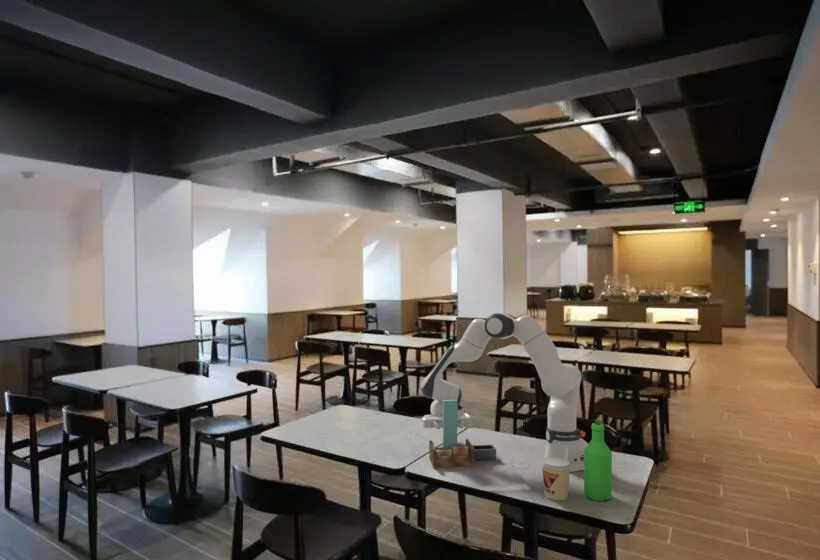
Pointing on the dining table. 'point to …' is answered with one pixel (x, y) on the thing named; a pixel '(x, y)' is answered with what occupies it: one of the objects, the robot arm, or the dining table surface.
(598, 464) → the bottle
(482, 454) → the charcoal holder
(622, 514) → the dining table surface
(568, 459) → the robot arm
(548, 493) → the coffee cup
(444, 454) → the oak offcut
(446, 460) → the walnut rack
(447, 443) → the teal panel
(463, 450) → the oak offcut
